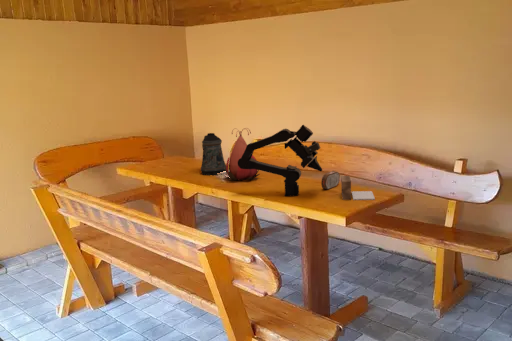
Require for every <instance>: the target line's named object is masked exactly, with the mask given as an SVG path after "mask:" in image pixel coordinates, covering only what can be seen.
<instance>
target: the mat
mask: <svg viewBox="0 0 512 341" xmlns="http://www.w3.org/2000/svg"><path fill="white" fill-rule="evenodd" d="M351 198H352V200H353V201H376V199H375V195H374V193H373V191H371V190H367V191H366V190H362V191H360V190H359V191H357V190H356V191H352V190H351Z"/></svg>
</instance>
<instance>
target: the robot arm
mask: <svg viewBox="0 0 512 341" xmlns="http://www.w3.org/2000/svg"><path fill="white" fill-rule="evenodd" d="M313 135H314V132H313V131H312V130H311V129H310V128H309V127H308V126H306V125H305V124H302V125H301V126H300V127H299V129H297V131H293V130H290V129H289V128H283V129H281V130H279V131H277V132H276V133H273V134H272V135H270V136H268V137H265V138H262V139H259V140H256V141H253V142H249V143H248V144H247V146H246V149H245V151H244V153H243V155H242V157H241V158H240V159H239V160H238V166H239V168H241V169H257V171H258V170H259V171H260V172H265V173H270V174H274V175H278V176H282V177H283V178H285V179H284V180H283V182H284V196H285V197H298V195H299V194H300V192H299V191H300V186H299V183H298V181H299V179H300V178H301V175H302V170H301V169H300V168H299V167H297V166H296V165H295V166H294V165H292V164H288V165H287V166H286V167H284V166H279V165H275V164H270V163H266V162H262V161H259V160H257V159H256V158H255V159H256V160H257V161H256V160H255V159H253V158H251V157H252V155H253V154H254V151H256V150H259V149H261V148H264V147H267V146H270V145H272V144H276V143H278V144H279V143H284V149H287V148H290V149H291V151H293V153H295V156H296V157H299V159H301V162H300V166H301V167H302V168H303V169H304V168H306V167H308V168H311V169H314V170H316V171H318V172H322V171H323V168H322V166H321V165H320V163H319V162H318V150H320V149H321V145H320V143H319V142H316V141H315V140H314V141H312V142H311V145H309V146H308V145H304V144H303V142H304V143H306V142H307V141H308V140H309V139H310V138H312V136H313ZM253 156H254V155H253Z"/></svg>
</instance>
